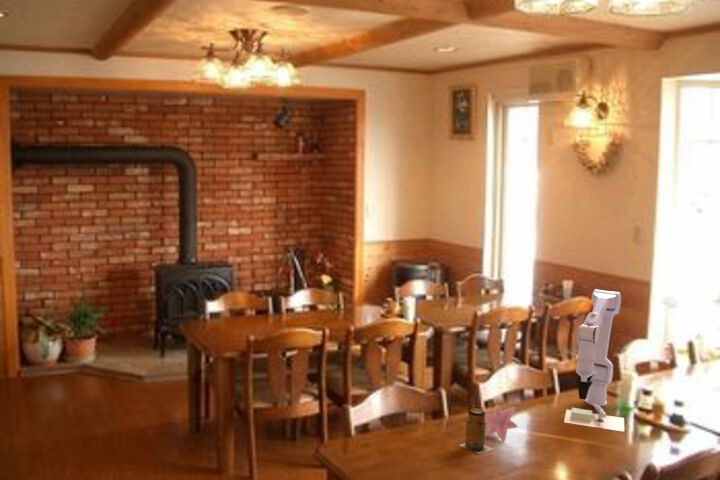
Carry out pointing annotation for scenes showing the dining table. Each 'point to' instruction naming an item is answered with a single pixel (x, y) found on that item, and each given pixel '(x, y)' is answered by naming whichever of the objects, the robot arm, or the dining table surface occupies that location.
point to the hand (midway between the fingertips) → (583, 395)
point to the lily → (500, 422)
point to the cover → (581, 414)
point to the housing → (598, 422)
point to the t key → (600, 410)
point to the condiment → (476, 432)
